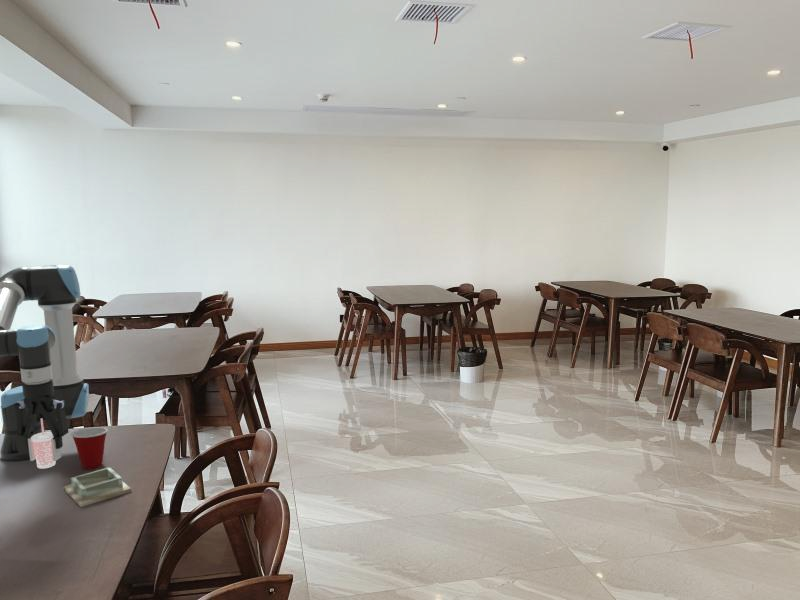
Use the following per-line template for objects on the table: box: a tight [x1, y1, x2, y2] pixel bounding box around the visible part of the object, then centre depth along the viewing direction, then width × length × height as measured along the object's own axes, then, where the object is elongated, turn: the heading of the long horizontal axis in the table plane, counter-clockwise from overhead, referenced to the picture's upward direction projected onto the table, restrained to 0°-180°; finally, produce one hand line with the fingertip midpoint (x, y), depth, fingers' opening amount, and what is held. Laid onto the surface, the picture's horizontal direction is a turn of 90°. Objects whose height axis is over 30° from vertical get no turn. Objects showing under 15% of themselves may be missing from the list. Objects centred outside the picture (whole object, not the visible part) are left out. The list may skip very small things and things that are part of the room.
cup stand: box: [63, 466, 132, 508], centre depth 183 cm, size 16×14×4 cm
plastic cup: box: [70, 426, 109, 470], centre depth 201 cm, size 11×11×12 cm
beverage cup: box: [31, 418, 57, 470], centre depth 175 cm, size 6×6×14 cm
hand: (45, 458), depth 176 cm, fingers closed on beverage cup, 6 cm apart
